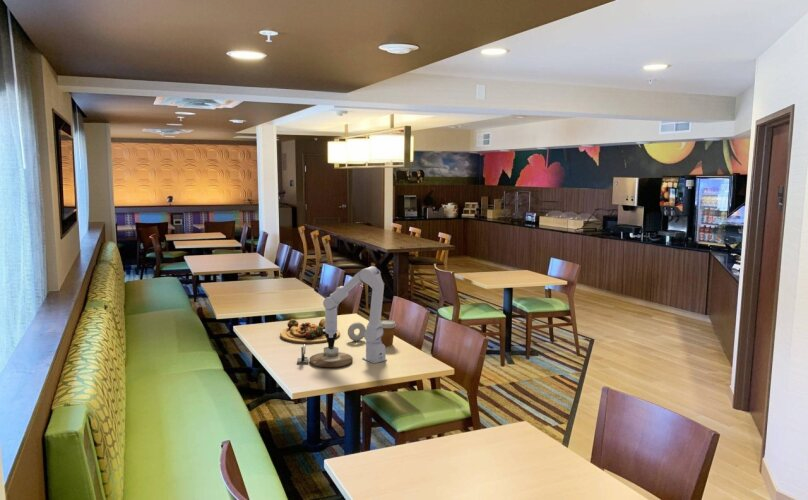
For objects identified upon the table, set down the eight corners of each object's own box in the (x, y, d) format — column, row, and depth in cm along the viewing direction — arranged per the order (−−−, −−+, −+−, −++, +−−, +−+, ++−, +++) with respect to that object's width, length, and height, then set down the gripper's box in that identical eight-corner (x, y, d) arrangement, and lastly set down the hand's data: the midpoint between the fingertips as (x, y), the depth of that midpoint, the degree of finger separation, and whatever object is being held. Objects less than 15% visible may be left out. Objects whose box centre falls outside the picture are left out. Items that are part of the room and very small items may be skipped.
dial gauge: (297, 364, 269) (297, 346, 268) (297, 360, 274) (297, 343, 273) (308, 363, 270) (308, 346, 269) (308, 360, 275) (308, 342, 274)
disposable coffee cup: (379, 347, 297) (379, 324, 295) (375, 342, 306) (375, 320, 304) (397, 346, 299) (398, 323, 298) (393, 341, 309) (393, 319, 307)
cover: (341, 355, 278) (341, 348, 278) (328, 357, 274) (328, 351, 274) (333, 351, 284) (333, 345, 283) (320, 354, 279) (320, 348, 279)
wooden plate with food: (268, 335, 318) (268, 320, 317) (318, 325, 339) (318, 311, 338) (301, 349, 295) (300, 334, 294) (351, 338, 316) (351, 323, 315)
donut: (364, 339, 312) (364, 320, 311) (366, 340, 309) (366, 322, 308) (346, 340, 308) (346, 322, 307) (348, 342, 305) (348, 323, 304)
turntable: (361, 361, 272) (361, 359, 272) (324, 370, 260) (324, 368, 259) (336, 351, 288) (336, 349, 287) (301, 359, 275) (301, 357, 274)
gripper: (323, 317, 291) (323, 343, 293) (322, 324, 277) (322, 352, 278) (337, 317, 292) (337, 343, 293) (337, 324, 277) (337, 352, 279)
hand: (331, 348), depth 286 cm, fingers closed
